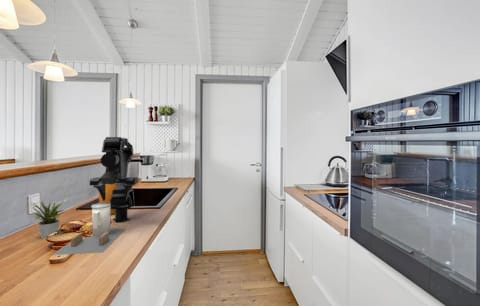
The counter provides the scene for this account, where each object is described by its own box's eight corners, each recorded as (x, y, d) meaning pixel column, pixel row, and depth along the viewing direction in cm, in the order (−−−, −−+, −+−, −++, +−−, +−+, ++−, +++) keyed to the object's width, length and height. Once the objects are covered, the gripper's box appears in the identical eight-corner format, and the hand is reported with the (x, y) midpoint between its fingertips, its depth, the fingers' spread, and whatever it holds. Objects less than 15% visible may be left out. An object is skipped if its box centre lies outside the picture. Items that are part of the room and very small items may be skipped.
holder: (87, 232, 105) (87, 223, 105) (126, 231, 107) (126, 221, 107) (51, 258, 81) (51, 245, 81) (103, 255, 83) (102, 243, 83)
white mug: (96, 231, 104) (96, 202, 103) (113, 230, 105) (113, 202, 104) (86, 239, 95) (85, 208, 95) (104, 238, 96) (104, 207, 96)
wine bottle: (114, 210, 142) (113, 158, 141) (123, 212, 136) (122, 158, 135) (95, 214, 134) (94, 159, 133) (104, 217, 128) (103, 159, 127)
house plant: (13, 246, 91) (11, 202, 90) (33, 233, 104) (32, 195, 104) (58, 242, 95) (57, 200, 94) (72, 230, 108) (71, 193, 108)
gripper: (82, 167, 100) (83, 205, 101) (130, 166, 102) (130, 204, 103) (95, 165, 111) (96, 199, 112) (138, 164, 113) (138, 198, 114)
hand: (114, 200), depth 110 cm, fingers open, 9 cm apart
